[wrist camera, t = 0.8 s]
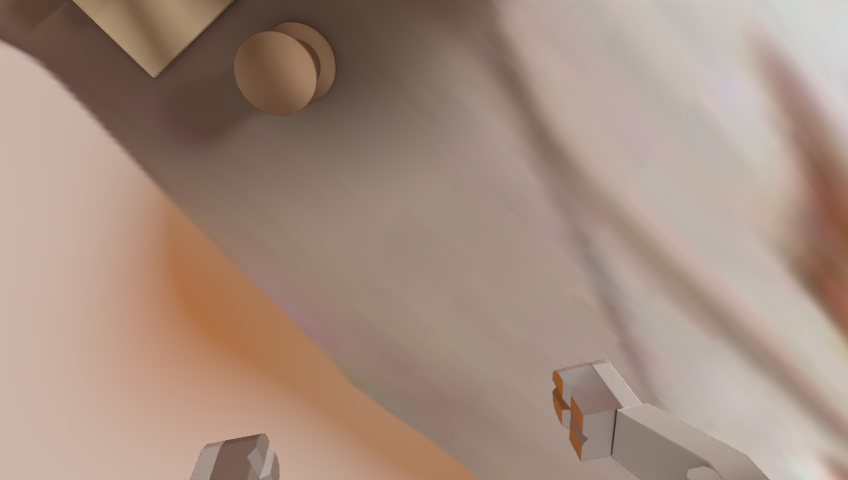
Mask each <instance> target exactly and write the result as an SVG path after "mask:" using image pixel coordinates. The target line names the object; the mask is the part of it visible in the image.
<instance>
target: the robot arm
mask: <svg viewBox="0 0 848 480" xmlns="http://www.w3.org/2000/svg"><path fill="white" fill-rule="evenodd" d="M553 382H554V384H555V386H556V388H555V389H554V390H553V391H552V393H553V403H554V408H555V411H556V414H557V416H558V419H559V421H560V423H561V425H562V426H563V427H565V428H566V429H568V430H570V434H569V440H570V442H571V444H572V446H573V448H574V450H575V452H576V453H577V455H578V457H579V459H580V461H581V462H584V461H589V460H594V459H599V458H604V457H609V456H612V458H613V459H614V460H615V461H617V462H618V463H619V464H621V465H622V466H623V467H625V468H626V469H627V470H628V471H630V472H631V473H632V474H634V475H635V476H636V477H637V478H639V479H640V480H769V479H768V478H767V477H766V476H765V474H764V473H763V472H762V471H761V470H760V469H759V468H758V467H757V466H756V465H755V464H754V463H753V461H752V460H751V459H750V458H749V457H748V456H747V455H746V454H744V453H742V452H740V451H738V450H736V449H734V448H732V447H731V446H729V445H727V444H725V443H723V442H721V441H719V440H717V439H715V438H713V437H711V436H709V435H708V434H706V433H704V432H702V431H700V430H698V429H696V428H694V427H692V426H690V425H688V424H687V423H685V422H683V421H681V420H679V419H677V418H675V417H673V416H671V415H669V414H667V413H665V412H664V411H662V410H660V409H658V408H656V407H654V406H652V405H650V404H648V403H645V404H642V403H641V402H640V401H639V399H638V398H637V397H636V396H635V394H634V393H633V392H632V390H631V389H630V388H629V387H628V385H627V384H626V383H625V381H624V380H623V379H622V378H621V376H620V375H619V374H618V372H617V371H616V370H615V369H614V367H613V366H612V365H611V363H610V362H609V361H607V360H606V359H604V360H599V361H594V362H590V363H584V364H580V365H575V366H571V367H567V368H562V369H558V370H554V372H553ZM268 446H269V440H268V438H267V436H266V434H257V435H252V436H247V437H242V438H236V439H231V440H226V441H221V442H216V443H211V444H207V445H206V446H205V447H204V448H203V449H202V451H201V453H200V456H199V458H198V460H197V463H196V466H195V468H194V471H193V473H192V476H191V478H190V480H279V463H278V458H277V456H276V454H275V452H274V451H272V450H270V449H268Z"/></svg>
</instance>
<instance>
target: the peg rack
mask: <svg viewBox="0 0 848 480" xmlns="http://www.w3.org/2000/svg"><path fill="white" fill-rule="evenodd" d="M73 1H74V2H75V3H76V4H77V5H78V6H79V7H80V8H81V9H82V10H83V11H84V12H85V13H86V14H87V15H88V16H89V17H90V18H91V19H92V20H94V21H95V22H96V23H97V24H98V25H99V26H100V27H101V28H102V29H103V30H104V31H105V32H106V33H107V34H108V35H109V36H110V37H111V38H112V39H113V40H114V41H115V42H116V43H118V44H119V45H120V46H121V47H122V48H123V49H124V50H125V51H126V52H127V53H128V54H129V55H130V56H131V57H132V58H133V59H134V60H135V61H136V62H137V63H138V64H139V65H140V66H141V67H143V68H144V69H145V70H146V71H147V72H148V73H149V74H150V75H151V76H152V77H153V78H154V77H157V76H158V75H159V74H160V73H161V72H162V71H163V70H164V69H165V68H166V67H167V66H168V65H169V64H170V63H171V62H172V61H173V60H174V59H175V58H176V57H177V56H178V55H179V54H180V53H181V52H182V51H183V50H184V49H185V48H186V47H187V46H189V45H190V44H191V43H192V42H193V41H194V40H195V39H196V38H197V37H198V36H199V35H200V34H201V33H202V32H203V31H204V30H205V29H206V28H207V27H208V26H209V25H210V24H211V23H212V22H213V21H214V20H215V19H216V18H217V17H218V16H219V15H220V14H221V13H222V12H223V11H224V10H225V9H226V8H227V7H228V6H229V5H230V4H231V3H232V2H233V1H234V0H73Z"/></svg>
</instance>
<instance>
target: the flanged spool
mask: <svg viewBox="0 0 848 480" xmlns="http://www.w3.org/2000/svg"><path fill="white" fill-rule="evenodd" d="M335 73H336V63H335V57H334V54H333V51H332V49H331V47H330V45H329V43H328V42H327V40H326V39H325V38H324V37H323V36H322V35H321V34H320V33H319V32H318V31H316V30H315V29H314V28H312V27H310V26H307V25H305V24H301V23H294V22H286V23H281V24H278V25H276V26H274V27H272V28H271V29H270V30H268V31H267V32H260V33H256V34H254V35H252V36H250V37H248V38H247V39H246V40H245V41H244V42H243V43H242V44H241V45H240V47H239V48H238V51H237V53H236V56H235V60H234V75H235V79H236V82H237V85H238V87H239V89H240V91H241V92H242V94H243V95H244V97H245V98H246V99H247V100H248V101H249V102H250V103H251V104H252V105H253V106H255V107H256V108H258V109H259V110H261V111H263V112H265V113H268V114H272V115H280V116H282V115H289V114H293V113H296V112H297V111H299V110H301V109H302V108H303V107H305V106H306V105H307V104H309V103H312V102H315V101H317V100H319V99H320V98H322V97H323V96H324V95H325V94H326V93H327V92H328V90H329V89H330V87H331V85H332V84H333V81H334V78H335Z"/></svg>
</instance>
